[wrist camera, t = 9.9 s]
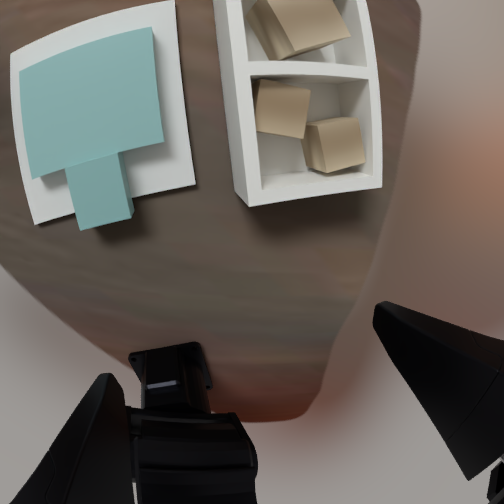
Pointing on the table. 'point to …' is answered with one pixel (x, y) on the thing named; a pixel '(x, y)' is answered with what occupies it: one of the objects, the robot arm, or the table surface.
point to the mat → (136, 160)
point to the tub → (320, 107)
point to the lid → (93, 119)
